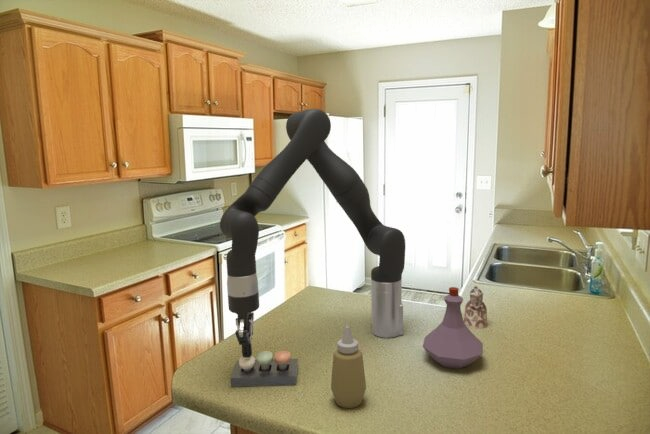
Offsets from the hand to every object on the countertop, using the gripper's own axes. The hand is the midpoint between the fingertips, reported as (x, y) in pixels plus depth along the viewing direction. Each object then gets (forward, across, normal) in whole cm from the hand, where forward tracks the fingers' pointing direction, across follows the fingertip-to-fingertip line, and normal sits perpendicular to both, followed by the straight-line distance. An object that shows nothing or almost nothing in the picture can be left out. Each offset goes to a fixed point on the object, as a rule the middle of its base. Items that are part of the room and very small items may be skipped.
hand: (247, 356), depth 113 cm
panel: (+6, 0, -4) cm, 7 cm away
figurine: (+6, +29, -68) cm, 74 cm away
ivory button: (+5, 0, 0) cm, 5 cm away
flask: (+6, +6, -54) cm, 54 cm away
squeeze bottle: (+6, -12, -25) cm, 28 cm away
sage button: (+4, 0, -4) cm, 6 cm away
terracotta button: (+4, 0, -9) cm, 10 cm away
